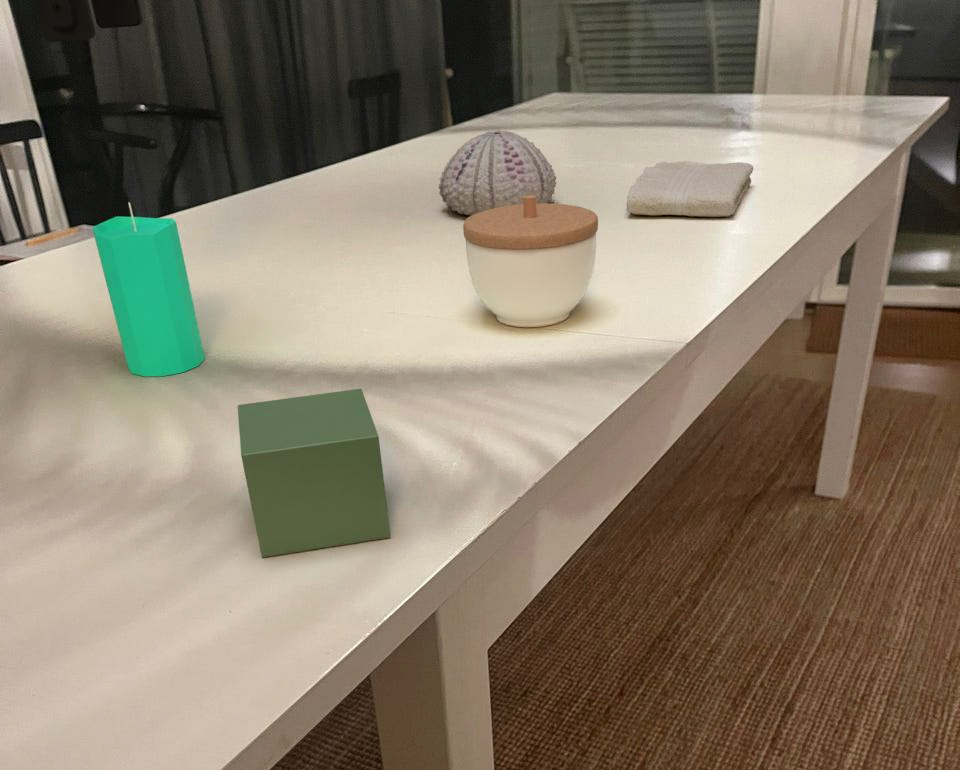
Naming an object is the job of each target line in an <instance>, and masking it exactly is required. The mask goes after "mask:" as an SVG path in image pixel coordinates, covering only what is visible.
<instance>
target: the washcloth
mask: <svg viewBox="0 0 960 770" xmlns="http://www.w3.org/2000/svg"><path fill="white" fill-rule="evenodd" d="M753 171H754V165H753V164H751V163H749V162H743V161H742V162H727V163H726V162H725V163H703V162H697V161H689V160H683V161H675V162H666V161H662V162H657V163H656V164H655V165H654V166H648V167H647V166H646V167H645V168H644V170H643V172H642V174H641V175H640V176H638V177H637V179H635V182H634V183H633V184H632V185H631V186H630V187H629V189H628V195H627V196H626V197H627V198H626V212H627V213H631V215H643V216H663V215H665V216H669V215H670V216H688V217H698V218H700V217H702V218H704V217H708V218H709V217H711V218H712V217H713V218H716V217H721V218H722V217H725V218H726V217H728V218H729V217H730V216H732V215H734V213H736V209H738V205H739V204H740V202H741V201H742V199H743V196H744V195H745V193H746V191H747V190H748V188H749V187H750V185H751V184H752V178H751V175H752V173H753Z"/></svg>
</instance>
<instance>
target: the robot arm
mask: <svg viewBox="0 0 960 770" xmlns="http://www.w3.org/2000/svg"><path fill="white" fill-rule="evenodd" d="M33 2H34V5H35V10H36V13H37V17H38V20H39V25H40V28H41V32H42V36H43V38H44V39H45V41H47V42H48V43H60V42H75V41H76V42H77V41H88V40H92V39H94V38H95V37H96V29H95V24H94V19H95V22H96V25H97V26H98V27H99V28H100V29H113V28H115V29H116V28H127V27H128V28H129V27H138V26H141V25H142V24H143V22H144V19H143V14H142V10H141V5H140V0H90V2H91V5H90V2H89V0H33ZM90 6H92V10H93V14H94V15H93V16H94V19H93V16H92V11H91V7H90Z"/></svg>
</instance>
